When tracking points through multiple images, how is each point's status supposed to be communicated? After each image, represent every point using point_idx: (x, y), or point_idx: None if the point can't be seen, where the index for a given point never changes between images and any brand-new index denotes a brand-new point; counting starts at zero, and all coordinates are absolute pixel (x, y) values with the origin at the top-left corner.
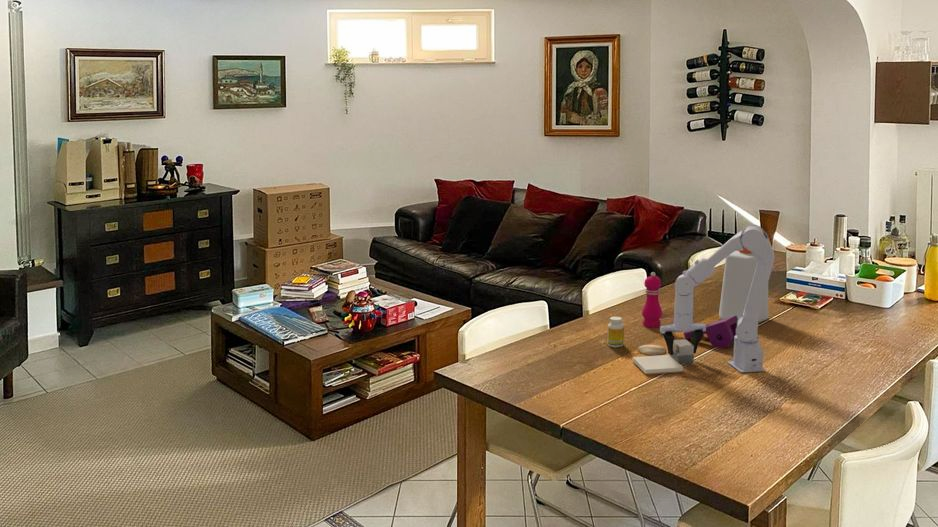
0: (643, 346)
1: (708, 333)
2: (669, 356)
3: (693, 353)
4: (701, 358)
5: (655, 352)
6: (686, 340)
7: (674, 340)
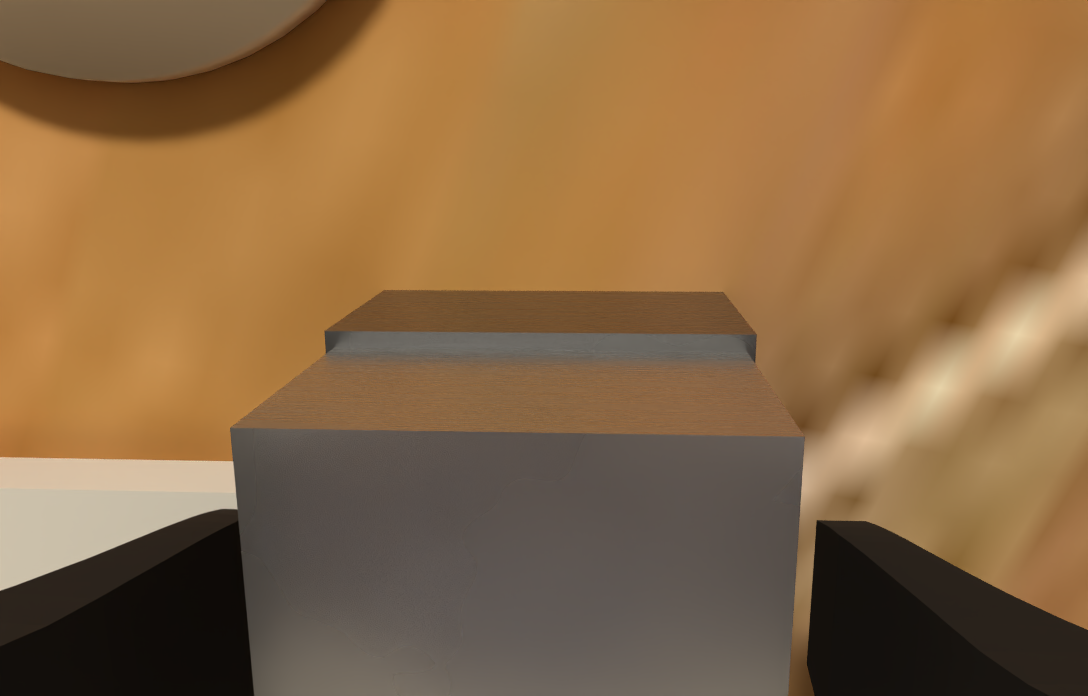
0: None
1: None
2: None
3: (807, 659)
4: (1011, 479)
5: (95, 16)
6: (770, 571)
7: (333, 477)
